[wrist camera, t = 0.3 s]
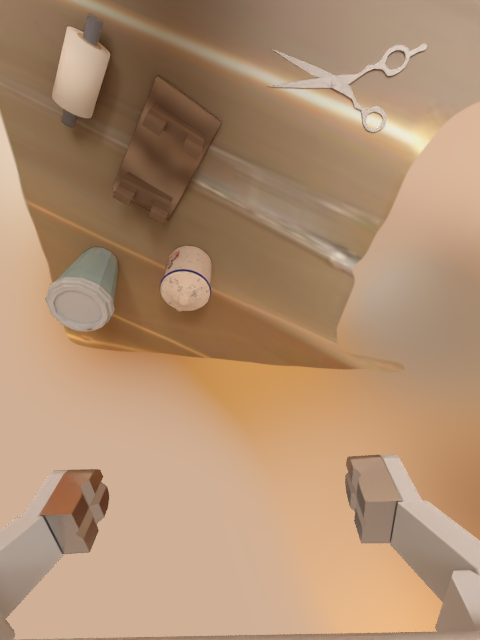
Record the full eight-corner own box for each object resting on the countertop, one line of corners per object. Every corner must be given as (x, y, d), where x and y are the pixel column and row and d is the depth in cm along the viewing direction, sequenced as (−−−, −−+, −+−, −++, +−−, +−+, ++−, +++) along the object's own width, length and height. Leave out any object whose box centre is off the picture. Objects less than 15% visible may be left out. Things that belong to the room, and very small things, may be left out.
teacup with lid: (171, 238, 61) (161, 274, 53) (218, 251, 63) (216, 288, 55) (160, 286, 69) (150, 325, 61) (203, 297, 71) (199, 336, 63)
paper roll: (82, 2, 40) (65, 1, 36) (122, 33, 42) (110, 34, 38) (56, 108, 47) (40, 116, 43) (91, 130, 49) (79, 139, 45)
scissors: (390, 135, 50) (260, 114, 47) (389, 133, 50) (260, 113, 48) (427, 44, 43) (276, 15, 40) (425, 43, 43) (275, 14, 41)
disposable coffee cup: (62, 241, 61) (26, 291, 50) (117, 231, 60) (91, 280, 49) (90, 285, 69) (63, 338, 58) (139, 277, 67) (121, 329, 56)
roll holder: (157, 75, 44) (146, 85, 39) (221, 121, 48) (219, 136, 43) (113, 187, 55) (99, 208, 49) (168, 218, 59) (161, 241, 53)
